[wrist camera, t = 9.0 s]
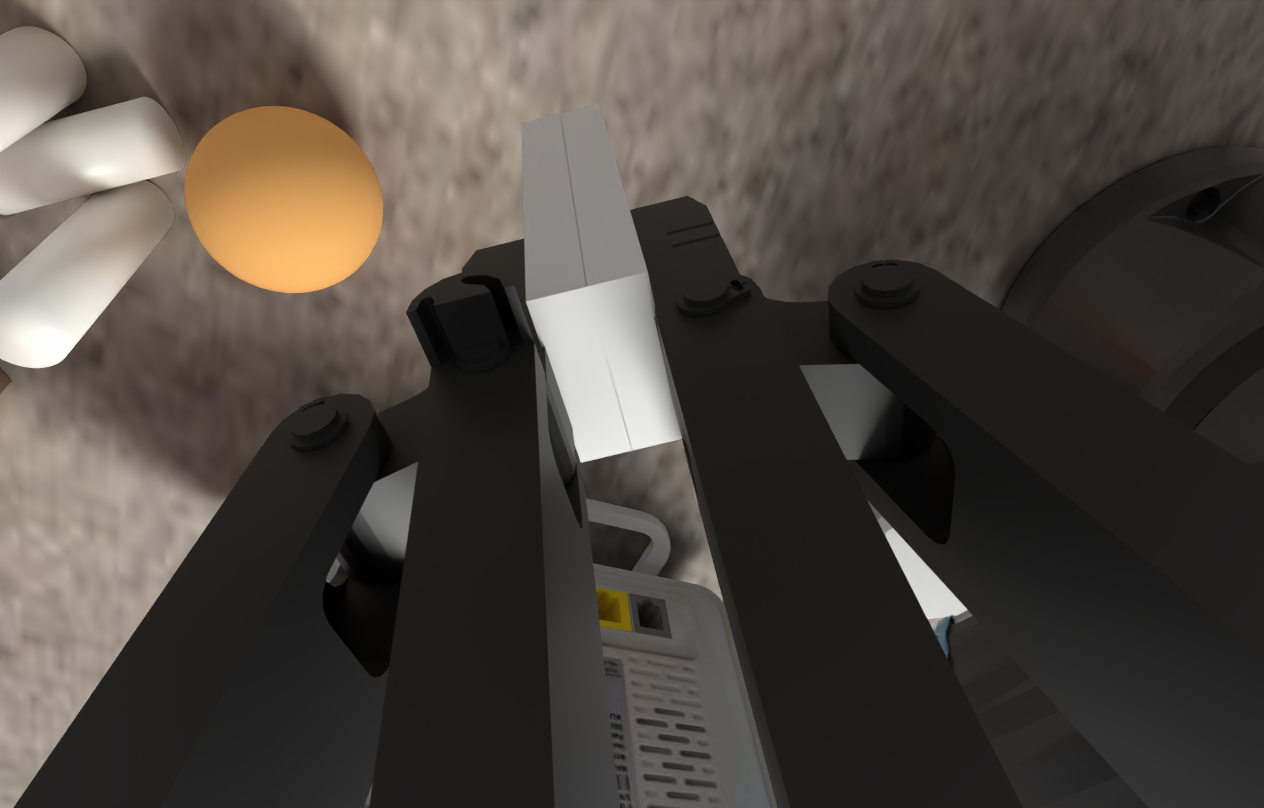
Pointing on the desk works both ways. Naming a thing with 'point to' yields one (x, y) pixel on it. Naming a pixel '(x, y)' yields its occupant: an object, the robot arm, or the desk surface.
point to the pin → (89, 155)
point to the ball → (283, 199)
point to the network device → (671, 684)
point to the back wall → (3, 380)
